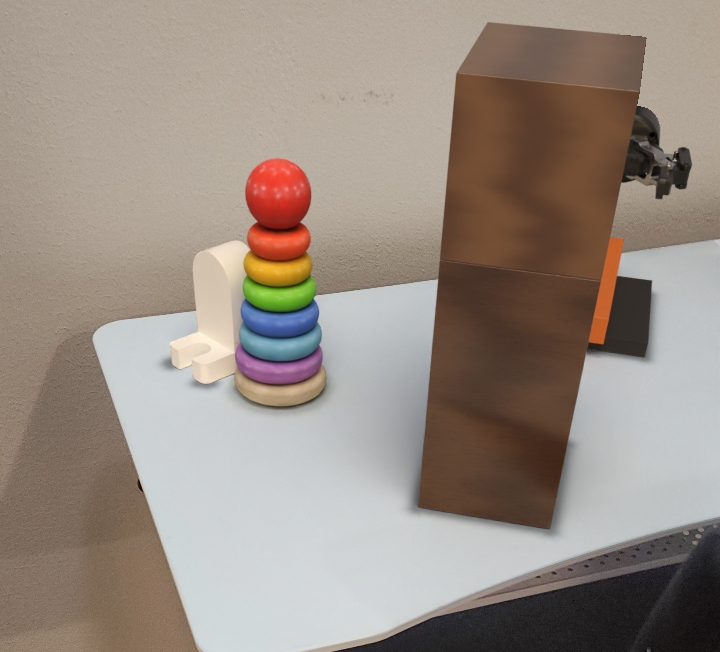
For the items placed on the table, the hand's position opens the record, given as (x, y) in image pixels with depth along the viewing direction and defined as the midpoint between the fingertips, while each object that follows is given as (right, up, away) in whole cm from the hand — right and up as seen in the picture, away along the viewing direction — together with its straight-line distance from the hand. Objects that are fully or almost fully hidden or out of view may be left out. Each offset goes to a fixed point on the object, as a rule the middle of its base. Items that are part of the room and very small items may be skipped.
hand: (619, 184), depth 104 cm
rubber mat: (-4, -15, -5) cm, 17 cm away
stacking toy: (-34, -26, -16) cm, 46 cm away
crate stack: (-16, -34, -25) cm, 46 cm away
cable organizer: (-39, -22, -13) cm, 46 cm away
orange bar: (-4, -14, -5) cm, 15 cm away
